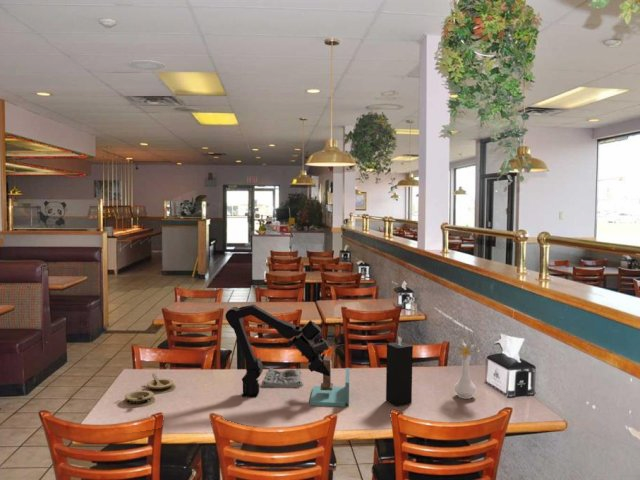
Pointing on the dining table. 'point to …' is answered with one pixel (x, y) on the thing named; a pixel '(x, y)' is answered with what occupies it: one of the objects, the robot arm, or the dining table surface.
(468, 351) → the flower vase
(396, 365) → the black square bottle
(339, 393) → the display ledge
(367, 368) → the dining table surface
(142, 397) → the tableware set
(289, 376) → the wall plaque
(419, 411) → the dining table surface
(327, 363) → the photo frame
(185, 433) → the dining table surface
